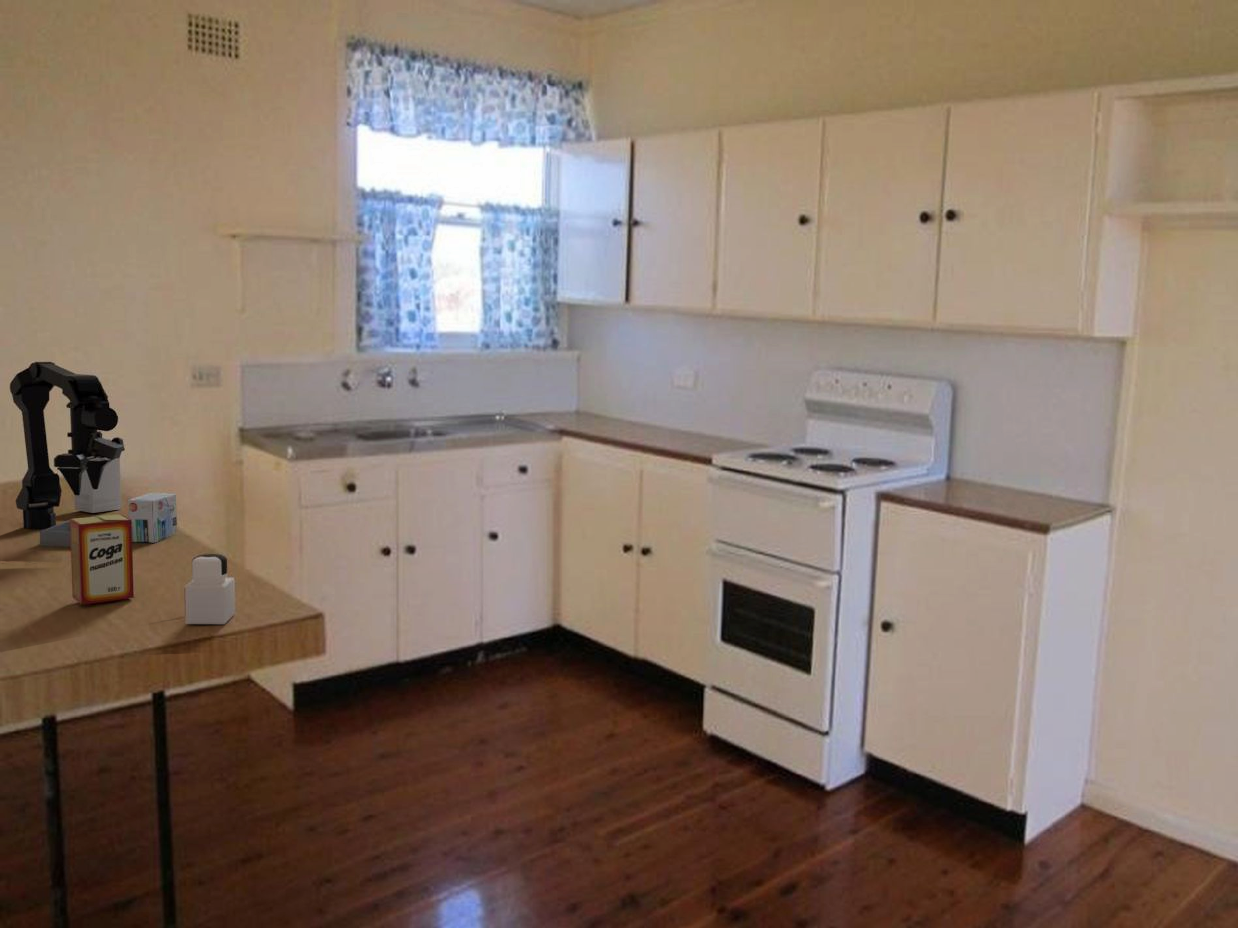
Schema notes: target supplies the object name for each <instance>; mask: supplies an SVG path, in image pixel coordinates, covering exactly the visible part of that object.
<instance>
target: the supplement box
mask: <svg viewBox="0 0 1238 928" xmlns="http://www.w3.org/2000/svg"><path fill="white" fill-rule="evenodd" d="M120 458H121V457H120ZM120 458H116V459H115V460H112V461H111V462H110V463H108V464H107V465H106V466H105V467H104V470H103V473H102V476H101V480H100V483H99V487H98V489H93V488H92V486H91V483H90V480H89V477H88V474H87V471H86V470H85V471H84V472H83V473H82V480H81V491H80V495H74V494H73V497H74V498H73V500H74V510H75V511H80V512H85V513H91V514H94V513H102V512H110V511H115V510H116V511H118V510H122V487H121V486H122V485H121V484H122V483H121V459H120ZM106 460H110V459H107V458H106ZM84 467H85V466H84Z"/></svg>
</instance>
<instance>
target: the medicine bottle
mask: <svg viewBox="0 0 1238 928" xmlns="http://www.w3.org/2000/svg"><path fill="white" fill-rule="evenodd" d="M191 578H192V581H190V582H189V583H188V584H186V585H185V586H184V621H185V624H186V625H226V624H227V623H228V622H229V620H230V619H231V618H232V617H233V616H234V615H235V614H236V593H235V592H236V589H235V588H236V587H235V584H236V583H235V578H234V577H228V558H227V557H226V556H224V555H222V554H218V553H205V554H200V555H197V556H195V557H194V558H192V560H191Z"/></svg>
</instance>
